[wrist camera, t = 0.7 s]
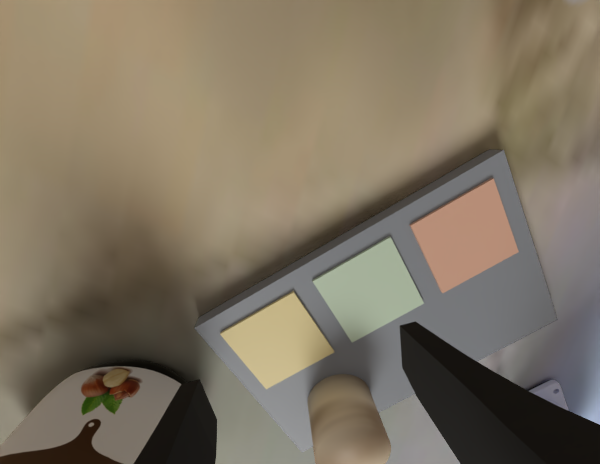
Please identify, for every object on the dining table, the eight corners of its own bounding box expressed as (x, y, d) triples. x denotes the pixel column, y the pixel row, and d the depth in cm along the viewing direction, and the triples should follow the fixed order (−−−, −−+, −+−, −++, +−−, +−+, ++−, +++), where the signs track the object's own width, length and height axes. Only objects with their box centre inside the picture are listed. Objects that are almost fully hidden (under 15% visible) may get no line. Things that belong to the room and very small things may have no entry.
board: (543, 310, 22) (560, 321, 21) (300, 437, 24) (302, 454, 23) (489, 149, 18) (506, 150, 17) (198, 317, 20) (193, 330, 19)
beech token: (380, 405, 22) (402, 459, 18) (326, 433, 23) (337, 491, 19) (352, 363, 21) (370, 413, 17) (295, 394, 21) (300, 449, 17)
